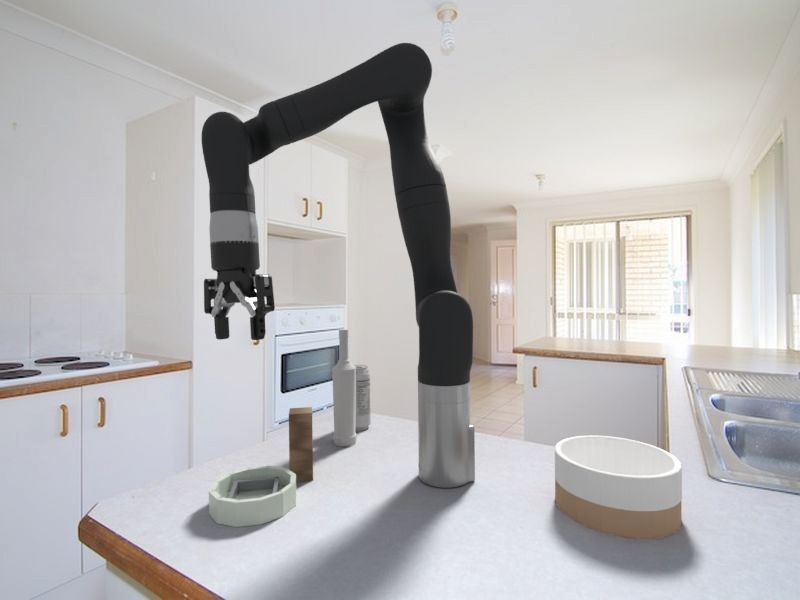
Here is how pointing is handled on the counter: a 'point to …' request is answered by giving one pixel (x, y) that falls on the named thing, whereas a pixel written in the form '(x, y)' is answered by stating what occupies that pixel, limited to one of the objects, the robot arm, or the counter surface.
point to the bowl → (619, 486)
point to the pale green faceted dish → (252, 496)
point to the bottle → (344, 395)
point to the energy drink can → (362, 398)
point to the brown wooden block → (301, 443)
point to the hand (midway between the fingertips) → (239, 339)
